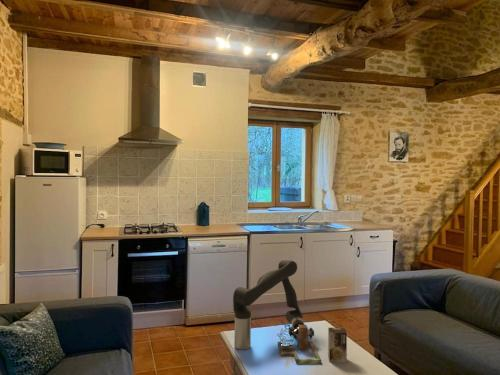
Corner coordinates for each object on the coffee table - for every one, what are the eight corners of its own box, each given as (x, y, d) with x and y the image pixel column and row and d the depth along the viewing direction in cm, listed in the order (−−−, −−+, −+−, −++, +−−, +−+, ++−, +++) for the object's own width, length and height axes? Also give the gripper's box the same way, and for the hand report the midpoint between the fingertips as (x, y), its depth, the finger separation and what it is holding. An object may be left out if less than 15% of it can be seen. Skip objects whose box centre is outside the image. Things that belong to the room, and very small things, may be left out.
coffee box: (344, 357, 198) (345, 327, 198) (346, 363, 192) (347, 332, 192) (327, 356, 199) (328, 327, 199) (329, 362, 193) (329, 331, 193)
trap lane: (282, 364, 190) (283, 360, 190) (277, 343, 214) (277, 340, 214) (321, 363, 191) (321, 359, 191) (311, 343, 215) (311, 340, 215)
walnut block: (299, 350, 205) (299, 327, 205) (298, 347, 210) (298, 324, 210) (307, 350, 206) (307, 327, 205) (305, 347, 210) (306, 324, 210)
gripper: (286, 319, 222) (290, 330, 206) (310, 319, 222) (316, 330, 206) (286, 332, 222) (290, 343, 206) (309, 331, 222) (315, 343, 206)
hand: (303, 337), depth 206 cm, fingers open, 8 cm apart
